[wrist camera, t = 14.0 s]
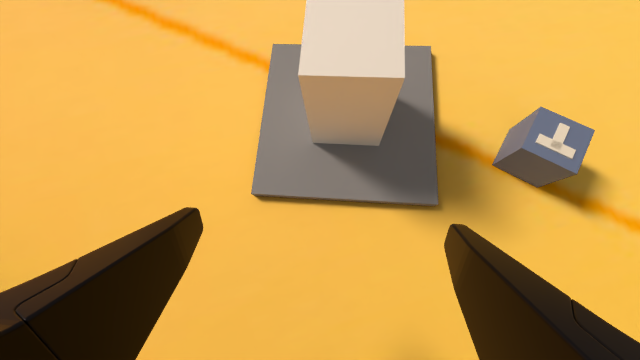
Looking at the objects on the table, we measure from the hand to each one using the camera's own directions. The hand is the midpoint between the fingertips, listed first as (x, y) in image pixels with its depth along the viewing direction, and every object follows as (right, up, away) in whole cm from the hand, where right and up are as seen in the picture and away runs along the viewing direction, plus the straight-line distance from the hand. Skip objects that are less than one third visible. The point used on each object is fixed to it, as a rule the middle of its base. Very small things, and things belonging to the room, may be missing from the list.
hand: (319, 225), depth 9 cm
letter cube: (+18, +4, +14) cm, 23 cm away
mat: (+3, +7, +16) cm, 18 cm away
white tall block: (+3, +8, +15) cm, 17 cm away
